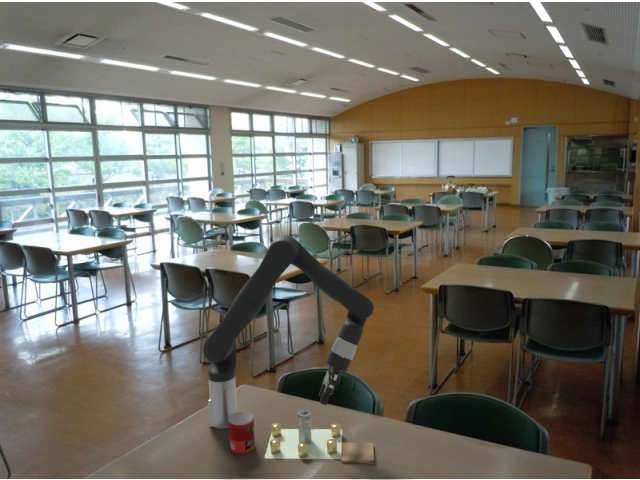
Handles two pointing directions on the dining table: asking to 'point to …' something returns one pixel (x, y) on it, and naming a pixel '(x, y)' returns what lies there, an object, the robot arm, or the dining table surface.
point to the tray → (357, 453)
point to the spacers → (303, 445)
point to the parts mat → (315, 449)
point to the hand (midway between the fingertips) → (322, 400)
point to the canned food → (241, 433)
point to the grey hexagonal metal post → (304, 426)
